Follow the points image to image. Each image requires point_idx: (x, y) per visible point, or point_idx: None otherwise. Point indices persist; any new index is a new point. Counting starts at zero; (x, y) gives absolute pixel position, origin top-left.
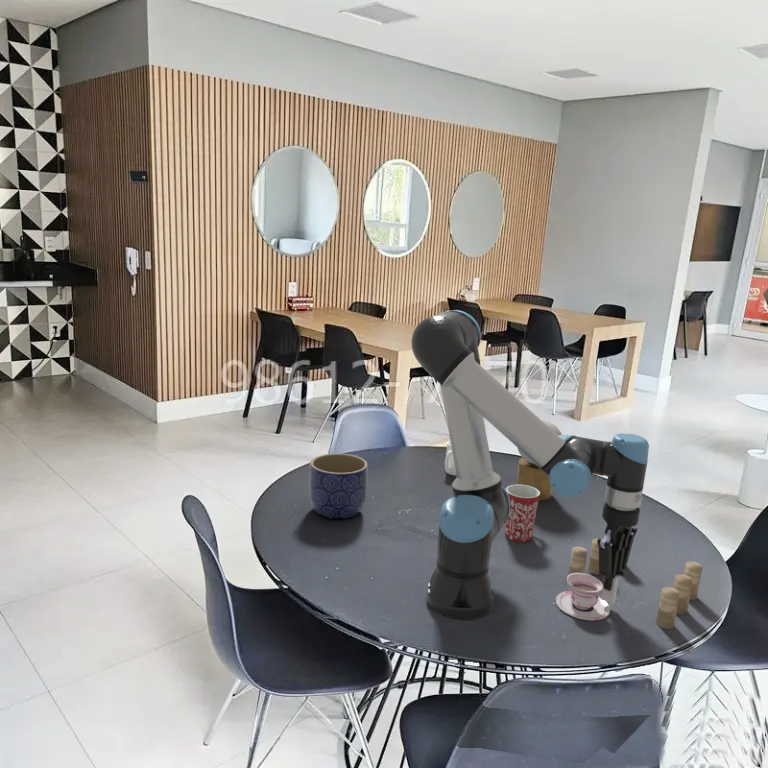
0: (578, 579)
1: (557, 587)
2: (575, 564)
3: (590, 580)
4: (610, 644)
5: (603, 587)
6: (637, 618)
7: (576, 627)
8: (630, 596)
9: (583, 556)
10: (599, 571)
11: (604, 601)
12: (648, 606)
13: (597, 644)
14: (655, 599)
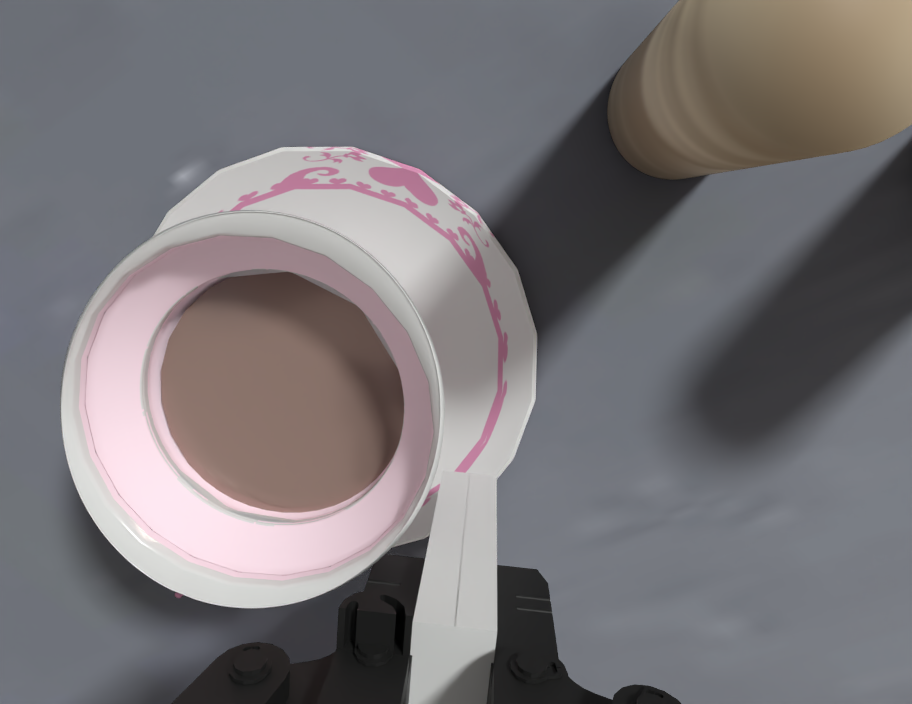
0: (350, 293)
1: (429, 59)
2: (654, 82)
3: (420, 401)
4: (85, 676)
5: (380, 561)
6: None
7: (59, 457)
8: (751, 548)
9: (745, 144)
10: (197, 682)
11: (498, 461)
12: (704, 684)
13: (19, 625)
14: (843, 685)
